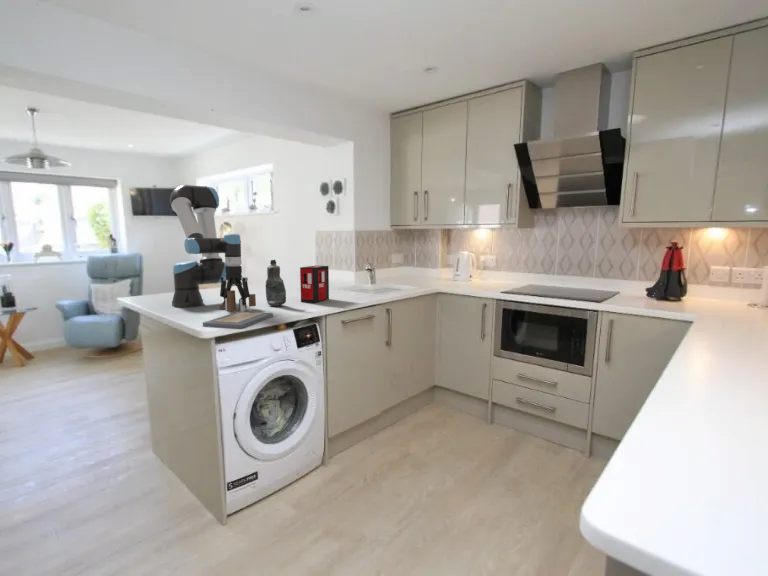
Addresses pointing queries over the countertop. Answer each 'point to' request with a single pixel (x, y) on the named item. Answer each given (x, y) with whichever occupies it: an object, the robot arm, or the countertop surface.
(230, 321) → the baseplate
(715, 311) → the countertop surface
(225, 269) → the robot arm
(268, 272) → the detergent
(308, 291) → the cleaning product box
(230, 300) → the wooden block set
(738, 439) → the countertop surface
